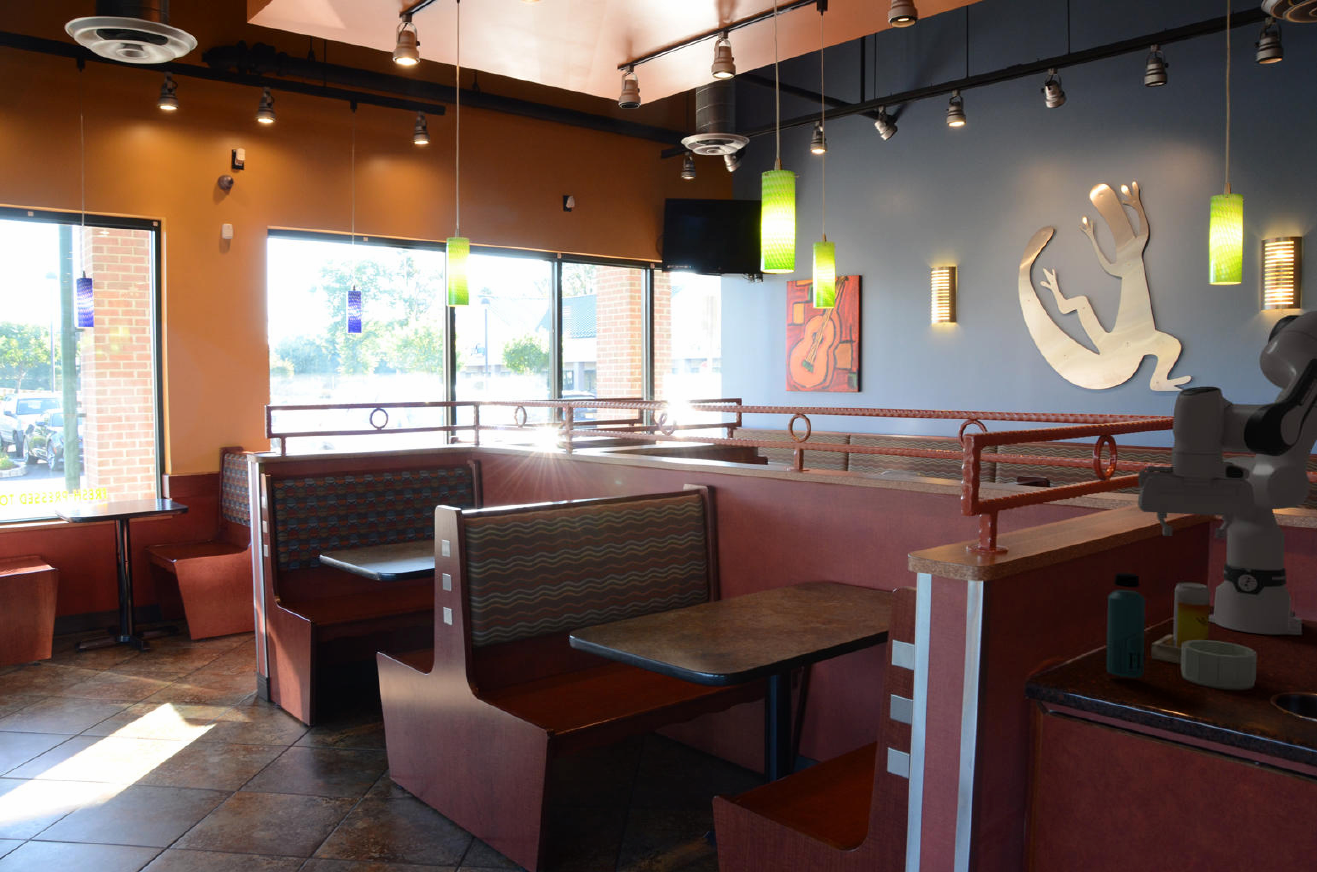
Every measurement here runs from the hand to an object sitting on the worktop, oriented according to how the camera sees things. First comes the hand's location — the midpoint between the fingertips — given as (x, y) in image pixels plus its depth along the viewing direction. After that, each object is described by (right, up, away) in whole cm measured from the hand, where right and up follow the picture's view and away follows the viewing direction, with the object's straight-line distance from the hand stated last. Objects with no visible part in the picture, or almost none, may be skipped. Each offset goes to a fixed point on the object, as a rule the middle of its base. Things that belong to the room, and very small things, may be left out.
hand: (1193, 536), depth 186 cm
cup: (-3, -25, -13) cm, 29 cm away
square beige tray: (0, -25, +1) cm, 25 cm away
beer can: (0, -25, +1) cm, 25 cm away
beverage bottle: (-21, -26, -14) cm, 36 cm away
